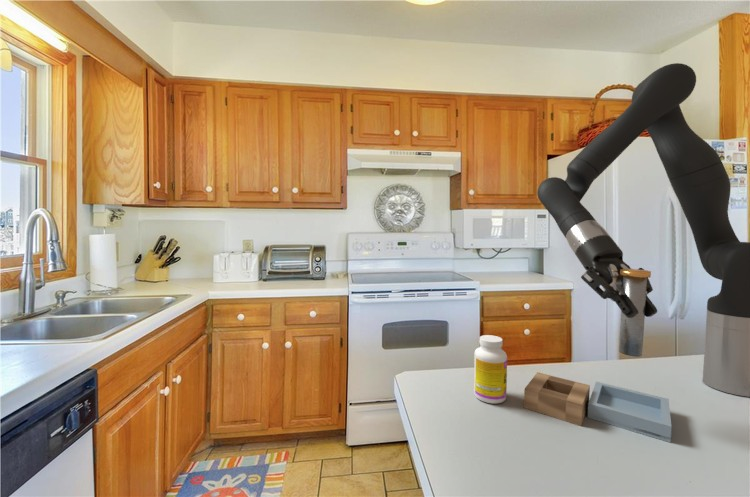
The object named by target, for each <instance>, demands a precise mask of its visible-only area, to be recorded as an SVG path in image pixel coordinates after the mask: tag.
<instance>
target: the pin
mask: <svg viewBox="0 0 750 497" xmlns="http://www.w3.org/2000/svg"><path fill="white" fill-rule="evenodd" d="M638 269H639V268H637V269H636V268H635V269H634V268H631V269H620V275H622V276H623V290H624V292H625V294H624V295H627V296H628V297H629V299H630V300H631V302H632V303H633V304H634V306H635V307H636V308H637V310H638V314H637V315H635V316H634V317H632V318H628V317H626V315H625V314H624V313H623V312H622V311H621V310H620V323H619V324H620V325H619V342H618V343H619V344H618V352H619V353H620V354H623V355H625V356H628V357H637V358H638V357H640V358H641V357H642V356H643V351H644V350H643V348H644V332H645V319H646V316H645V303H646V287H647V278H648V279H649V278H651V277H652V276H651V275H652V271H651V270H645V269H644V270H638Z"/></svg>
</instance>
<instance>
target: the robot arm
mask: <svg viewBox="0 0 750 497" xmlns="http://www.w3.org/2000/svg"><path fill="white" fill-rule="evenodd" d="M696 83H697V75H696V72H695V71H694V69H693V68H692V67H691V66H689V65H687V64H684V63H679V62H678V63H670V64H667V65H664V66H661V67H659V68H657V69H656V70H654V71H653V72H652V73H650V74H649V75H648V76H647V77H646V78H645V79H643V80H642V81H641V82H640V83H638V84H637V86H636V87H635V88H634V90H633V92H632V94H631V95H632V96H631V104H629V105H628V107H627V108H626V109H624V111H623V112H622V113H621V114H620V115H619V116H618V117H617V118H616V119H615V120H614V121H613V122H612V123H611V124H609V125H608V126H607V127H606V128H605V129H603V130H602V131H601V132H600V133H599V134H598V135H597V136H595V137H594V138H593V139H592V140H591V141H590V142H588V144H587V145H586V146H585V147H584V148H583V149H582V150H581V151H579V153H578V154H576V156H575V157H574V158H573V159H572V160H571V161H570V162H569V163H568V165H567V167H566V174H567V175H566V178H565V180H564V179H563V178H561V177H556V176H554V177H553V176H552V177H548V178H546V179H545V180H543V181H542V182H540V184H539V186H538V188H537V194H536V195H537V198H538V200H539V201H540V203H541V204H542V205H543V207H544V208H545V210H547V212H548V213H549V215H550V216H551V217H552V218H553V219H554V221H555V223H556V225H557V227H558V228H559V231H560V232H561V233H562V235H563V236H564V238H565V239H566V241H567V244H568V245H569V247H570V248H571V250H572V252H573V253H574V255H575V256H576V257H577V259H578V261H579V262H580V264H581V265H582V267H583V268H584V269H585V272H584V273H583V274H582V275H581V276H580V278H581V279H582V280H583V281H584V282H585V284H587V285H588V287H590V288H591V289H592V290H593V291H594V292H595V293H596V294H597V295H599V296H600V298H602V299H603V300H606V299H610V300H611V301H612V302H615V304H616V306H618V308H619V309H620V312H621V311H622V312H623V313H624V314H625V315H626V317H628V318H632V317H634V316H635V315H637V314H638V310H637V308H636V307H635V306H634V304H633V303H632V302H631V300H630V299H629V297H628V296H627V295H624V294H625V292H624V290H623V276H622V275H620V269H632V268H631V267H630V265H628V264H627V263H626V262H625V261H624V260H623V258H624V253H623V250H622V249H621V248H620V247H619V245H618V244H617V243H616V241H615V240H614V239H613V238H612V237H611V235H610V234H609V233H608V232H607V230H606V229H605V228H604V227H603V226H602V225H601V224H600V223H599V222H598V221H597V220H596V219H595V218H594V216H593V215H592V214H591V212H590V211H589V210H588V209H587V208H586V207H585V206H584V205H583V204H582V203H581V201H582V199H583V197H584V196H585V195H586V193H587V192H588V190H589V189H590V188H591V186H592V184H593V182H594V181H595V180H596V179H597V178H598V177H599V176H600V175H602V173H604V172H605V170H607V168H609V167H610V166H611V165H612V163H614V161H616V160H617V158H618V157H619V156H620V155H622V153H624V151H625V150H626V149H628V147H629V146H631V144H632V143H633V142H634V141H635V140H636V139H637V138H638V137H639V136H641V135H642V134H643V133H644V132H645V131H647V133H648V136H650V138H651V141H652V142H653V144H654V147H655V150H656V152H657V154H658V156H659V159H660V161H661V164H662V165H663V168H664V170H665V172H666V175H667V178H668V181H669V183H670V185H671V187H672V190H673V191H674V192H673V193H675V196H676V198H677V199H678V202H679V204H680V207H681V209H682V212H683V214H684V216H685V218H686V220H687V222H688V225H689V226H690V230H691V232H692V235H693V239H694V243H695V246H696V251H697V253H698V256H699V261H700V263H701V265H702V268H703V269H704V271H705V272H706V273H708V275H710V276H711V277H712V278H714V279H717V280H720V281H721V286H720V290H719V291H720V292H719V293H718V294H717V295H714V296H711V297H709V298H708V299H707V304H706V316H705V318H706V322H705V338H704V352H703V354H704V355H703V363H702V365H703V369H702V382H703V383H704V384H705V385H706V386H708V387H711V388H713V389H715V390H717V391H720V392H724V393H728V394H731V395H736V396H742V397H748V398H749V397H750V241H749V242H748V241H740V240H739V238H738V237H737V235H736V233H735V231H734V228H733V227H732V225H731V222H730V219H729V204H730V198H731V197H730V196H731V188H732V186H731V180H730V178H729V174H728V172H727V170H726V167H725V165H724V164H723V161H722V159H721V156H720V155H719V154H718V153H717V151H716V150H715V149H714V147H712V146H711V145H710V144H709V143H708V142H707V141H705V139H703V138H702V137H701V136H700V135H698V134H697V133H696V132H695V131H693V129H692V128H691V127H690V126H689V124H688V123H687V121H686V118H685V117H684V114H683V112H682V109H681V106H680V105H681V104H682V103H683V102H685V101H686V100H687V99H688V98H689V97H690V96H691V94H692V93H693V91H695V90H694V89H695V87H696ZM637 269H638V270H645V269H644V268H643V267H639V268H637ZM600 286H601V287H602V288H603V289H602V288H601V287H600ZM653 290H654V289H653V286H652V284H651V282H650V280H649V277H648V278H647V287H646V303H645V318H646V317H647V318H650V317H652V316H654V315H656V314H657V313H658V309H657V307H656V306H655V305H654V303H653V301H651V299H650V298H649V297H648V295H649V294H650V293H651V292H653Z"/></svg>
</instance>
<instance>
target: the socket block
mask: <svg viewBox="0 0 750 497" xmlns="http://www.w3.org/2000/svg"><path fill="white" fill-rule="evenodd" d="M590 387H591V385H590V384H586V383H581V382H579V381H578V382H577V381H574V380H570V379H565V378H562V377H558V376H554V375H551V374H547V373H543V372H542V373H541V372H536V373H535V374H534V376H533V377H532V378H531V379H530V381H529V382H528V384H527V385H526V386H525V387H524V389H523V390H524V393H523V394H524V395H523V398H524V400H523V408H524V409H527V410H530V411H533V412H536V413H539V414H542V415H545V416H548V417H551V418H554V419H555V418H556V419H558V420H561V421H564V422H567V423H570V424H573V425H577V426H580V427H582V426H583V422H584V420H585V417H586V414H587V412H588V403H589V400H590V391H591V389H590Z"/></svg>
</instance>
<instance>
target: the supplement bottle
mask: <svg viewBox="0 0 750 497" xmlns="http://www.w3.org/2000/svg"><path fill="white" fill-rule="evenodd" d="M478 343H479V347H477V348H476V349H475V350H474V358H473V359H474V364H473V365H474V367H473V368H474V371H473V394H474V395H473V396H475V397H476V399H478V400H480V401H482V402H484V403H487V404H492V405H493V404H494V405H495V404H501V403H503V402H505V401H506V399H507V389H508V388H507V382H508V380H507V379H508V377H507V376H508V356H507V352H505V351H504V350H503V349H502V347H503V343H504V342H503V338H502V337H500V336H496V335H491V334H484V335H481V336H479V342H478Z"/></svg>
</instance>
